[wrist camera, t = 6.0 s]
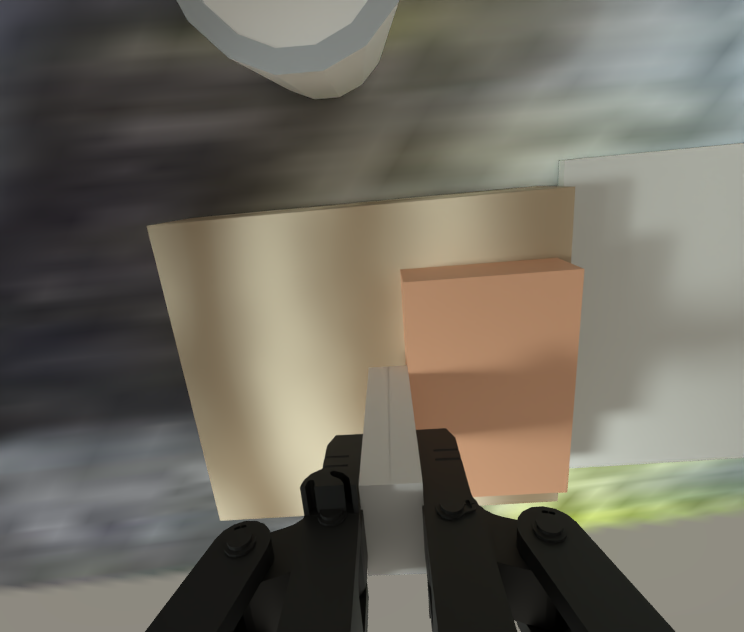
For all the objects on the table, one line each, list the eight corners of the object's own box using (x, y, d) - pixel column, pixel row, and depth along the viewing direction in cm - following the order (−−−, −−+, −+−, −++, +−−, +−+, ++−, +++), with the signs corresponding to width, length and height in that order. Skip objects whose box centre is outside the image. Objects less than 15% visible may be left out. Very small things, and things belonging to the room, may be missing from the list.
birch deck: (246, 466, 24) (220, 520, 20) (192, 217, 19) (146, 225, 16) (527, 448, 23) (557, 501, 19) (535, 186, 19) (575, 186, 15)
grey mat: (545, 462, 23) (549, 469, 23) (558, 160, 18) (564, 160, 18) (804, 446, 23) (815, 453, 22) (888, 129, 18) (906, 127, 17)
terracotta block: (411, 464, 19) (415, 500, 17) (400, 269, 16) (403, 282, 14) (545, 457, 18) (567, 492, 16) (557, 257, 16) (584, 268, 14)
